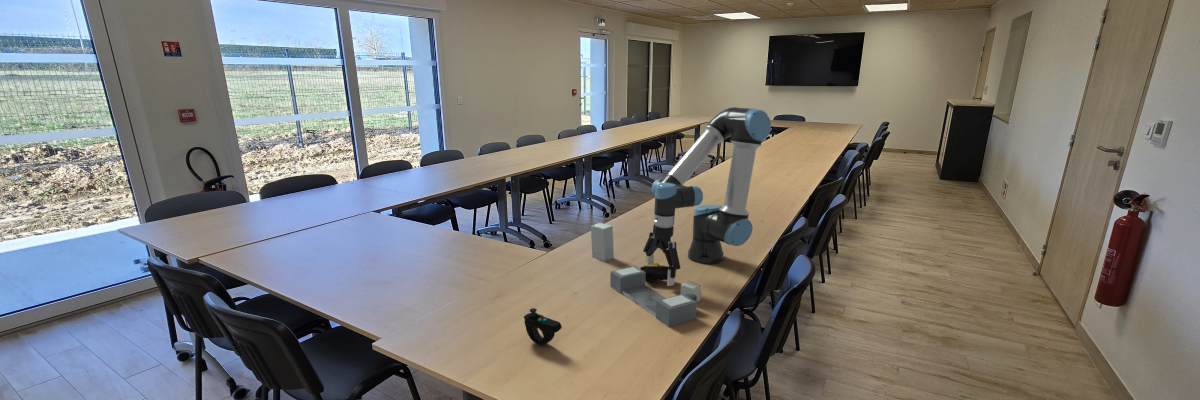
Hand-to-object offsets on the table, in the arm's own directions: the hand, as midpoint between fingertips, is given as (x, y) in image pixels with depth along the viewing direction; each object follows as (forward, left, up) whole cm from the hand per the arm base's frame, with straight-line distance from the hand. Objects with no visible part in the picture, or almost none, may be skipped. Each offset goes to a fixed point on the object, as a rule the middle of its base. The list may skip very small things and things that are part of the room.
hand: (659, 278), depth 191 cm
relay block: (-1, +17, -2) cm, 17 cm away
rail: (+12, +11, -2) cm, 17 cm away
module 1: (+12, -3, -2) cm, 13 cm away
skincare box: (+5, -35, -2) cm, 35 cm away
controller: (+56, +19, -2) cm, 60 cm away
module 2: (+12, +26, -2) cm, 29 cm away
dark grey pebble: (+4, +23, -2) cm, 24 cm away
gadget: (-1, +3, -1) cm, 3 cm away
